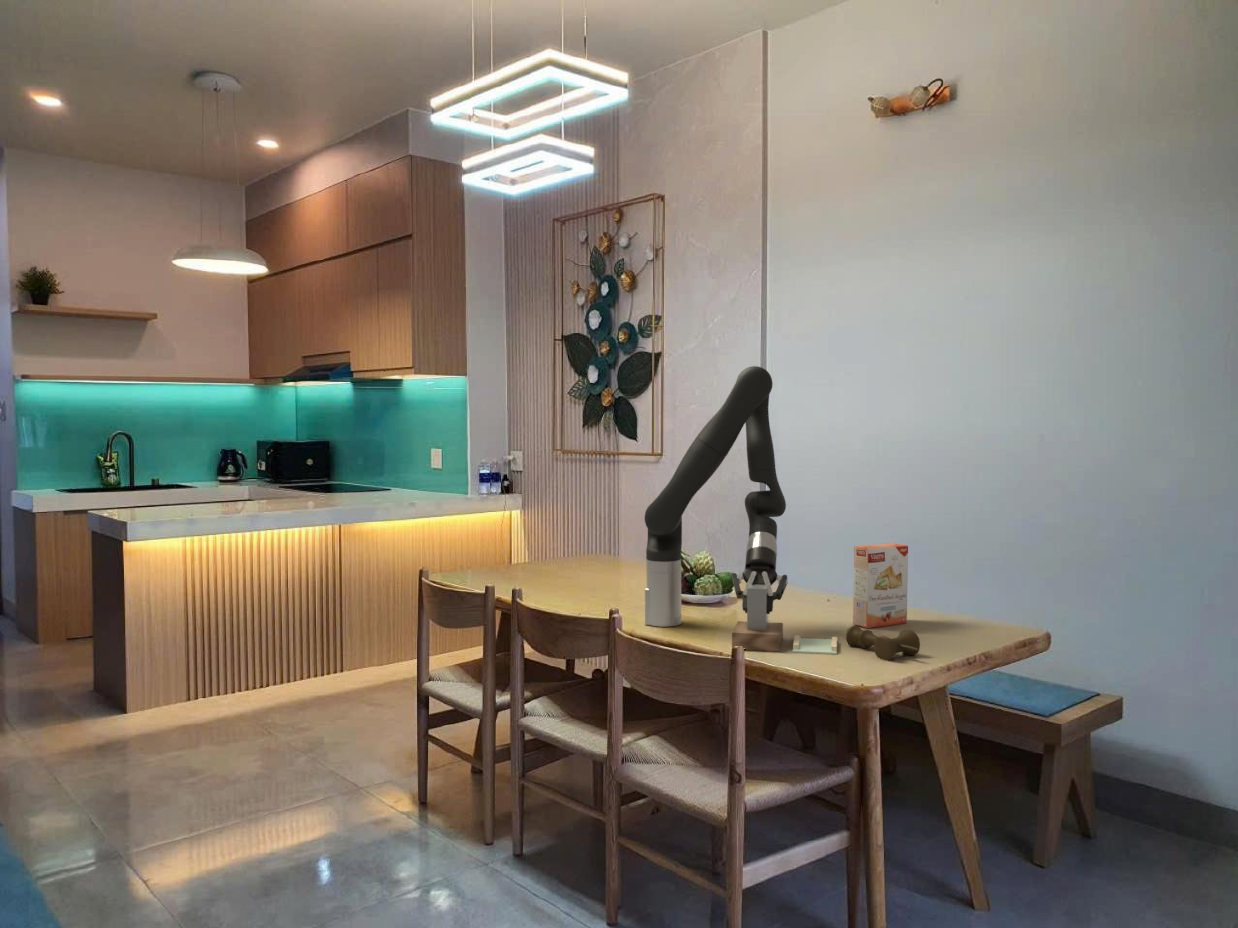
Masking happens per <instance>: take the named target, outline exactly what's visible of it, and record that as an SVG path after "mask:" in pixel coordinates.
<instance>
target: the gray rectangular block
mask: <svg viewBox="0 0 1238 928" xmlns="http://www.w3.org/2000/svg"><path fill="white" fill-rule="evenodd" d="M767 597H768V586H766V585H749V586H748V588H747V613H746V615H747V617H746V619H747V620H746V622H747V630H758V631H767V628H768V622H769V614H767Z"/></svg>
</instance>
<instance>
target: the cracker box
mask: <svg viewBox="0 0 1238 928" xmlns="http://www.w3.org/2000/svg"><path fill="white" fill-rule="evenodd" d="M853 555H854V556H853V605H852V606H853V607H852V609H853V611H852V612H853V613H852V620H853V621H852V623H853V624H852V625H854V626H858V627H860V628H861V627H862V628H864V629H870V628H871V629H872V628H879V627H886V626H893V625H894V626H895V625H902V624H907V623H908V581H909V579H908V576H909V574H908V572H909V571H908V570H909V568H908V567H909V545H906V544H902V543H897V542H894V543H891V542H890V543H881V544H869V545H866V544H865V545H855V546H854V548H853Z"/></svg>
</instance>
